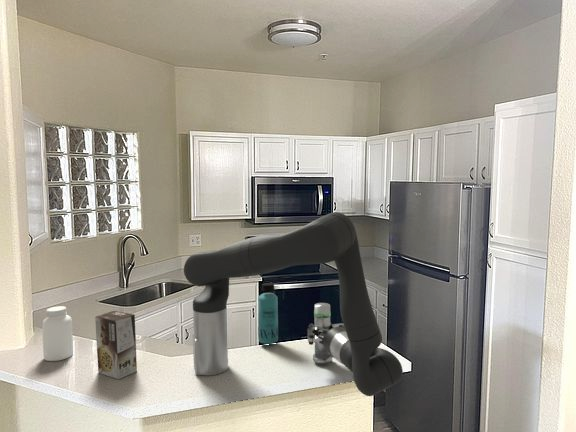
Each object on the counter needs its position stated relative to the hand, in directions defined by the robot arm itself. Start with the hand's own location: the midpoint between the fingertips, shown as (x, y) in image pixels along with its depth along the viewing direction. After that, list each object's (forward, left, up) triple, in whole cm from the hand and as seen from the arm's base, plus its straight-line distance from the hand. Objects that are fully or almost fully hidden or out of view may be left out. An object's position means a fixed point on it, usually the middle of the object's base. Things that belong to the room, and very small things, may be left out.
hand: (318, 326), depth 122 cm
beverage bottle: (-11, +16, -10) cm, 22 cm away
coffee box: (-56, +11, -10) cm, 58 cm away
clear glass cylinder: (0, -3, -9) cm, 9 cm away
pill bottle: (-74, +29, -10) cm, 80 cm away
